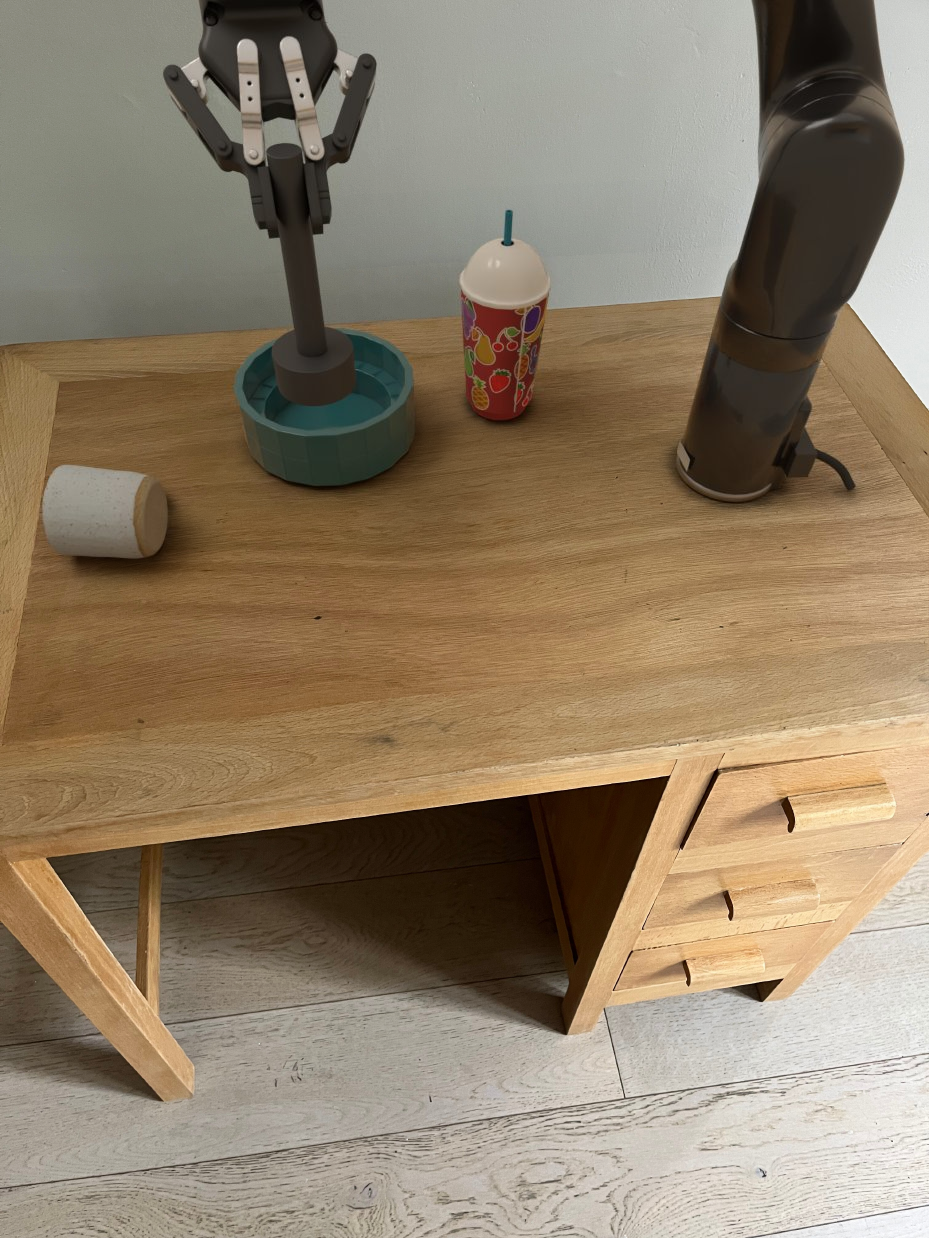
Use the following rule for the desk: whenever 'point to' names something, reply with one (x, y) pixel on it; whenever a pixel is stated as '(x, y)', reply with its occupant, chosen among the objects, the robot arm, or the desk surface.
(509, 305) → the smoothie
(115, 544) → the ceramic mug
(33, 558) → the desk surface
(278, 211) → the rod on round base
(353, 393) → the bowl
